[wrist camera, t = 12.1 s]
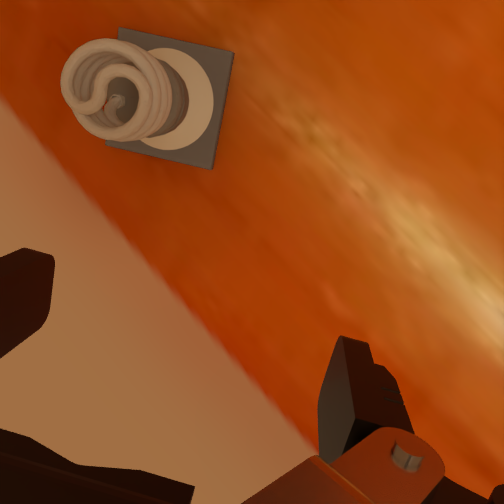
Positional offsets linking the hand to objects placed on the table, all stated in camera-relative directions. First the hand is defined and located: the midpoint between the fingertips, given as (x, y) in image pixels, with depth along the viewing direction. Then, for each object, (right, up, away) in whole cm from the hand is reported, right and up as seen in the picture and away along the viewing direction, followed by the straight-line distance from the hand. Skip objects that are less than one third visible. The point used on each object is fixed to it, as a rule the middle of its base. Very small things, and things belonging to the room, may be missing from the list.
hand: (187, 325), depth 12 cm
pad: (-5, +14, +24) cm, 28 cm away
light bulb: (-5, +14, +23) cm, 27 cm away
